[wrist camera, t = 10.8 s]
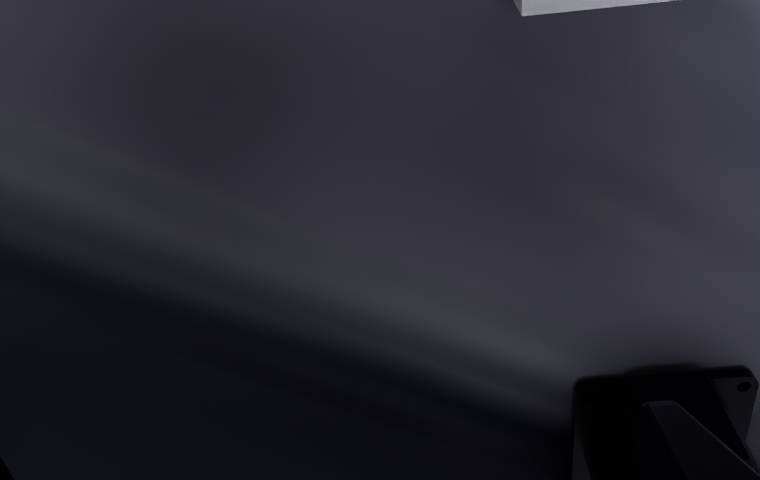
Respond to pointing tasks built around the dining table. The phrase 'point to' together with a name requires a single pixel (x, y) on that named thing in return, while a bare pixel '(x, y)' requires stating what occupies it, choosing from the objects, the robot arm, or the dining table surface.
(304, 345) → the dining table surface
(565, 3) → the bay
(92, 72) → the dining table surface
